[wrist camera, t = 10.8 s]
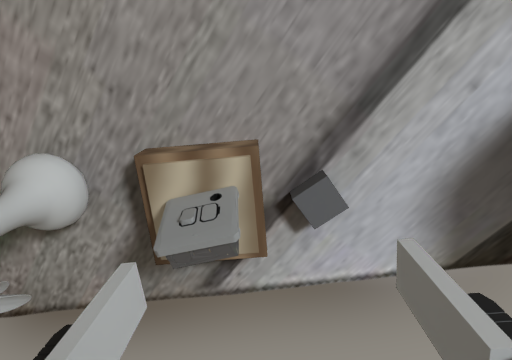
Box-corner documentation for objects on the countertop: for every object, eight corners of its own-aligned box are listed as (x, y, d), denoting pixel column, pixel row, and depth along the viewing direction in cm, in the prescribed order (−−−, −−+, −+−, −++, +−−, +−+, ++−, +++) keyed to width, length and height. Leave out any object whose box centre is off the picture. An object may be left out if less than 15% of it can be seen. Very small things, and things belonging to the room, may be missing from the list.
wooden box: (258, 139, 39) (258, 146, 34) (266, 241, 43) (267, 259, 39) (145, 148, 39) (131, 157, 35) (164, 248, 43) (154, 267, 39)
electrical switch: (237, 183, 36) (234, 220, 28) (246, 218, 37) (246, 261, 30) (167, 198, 36) (145, 238, 29) (179, 232, 38) (161, 278, 30)
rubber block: (322, 169, 40) (327, 175, 37) (342, 198, 41) (348, 207, 39) (289, 191, 41) (292, 199, 38) (310, 219, 42) (314, 229, 39)
